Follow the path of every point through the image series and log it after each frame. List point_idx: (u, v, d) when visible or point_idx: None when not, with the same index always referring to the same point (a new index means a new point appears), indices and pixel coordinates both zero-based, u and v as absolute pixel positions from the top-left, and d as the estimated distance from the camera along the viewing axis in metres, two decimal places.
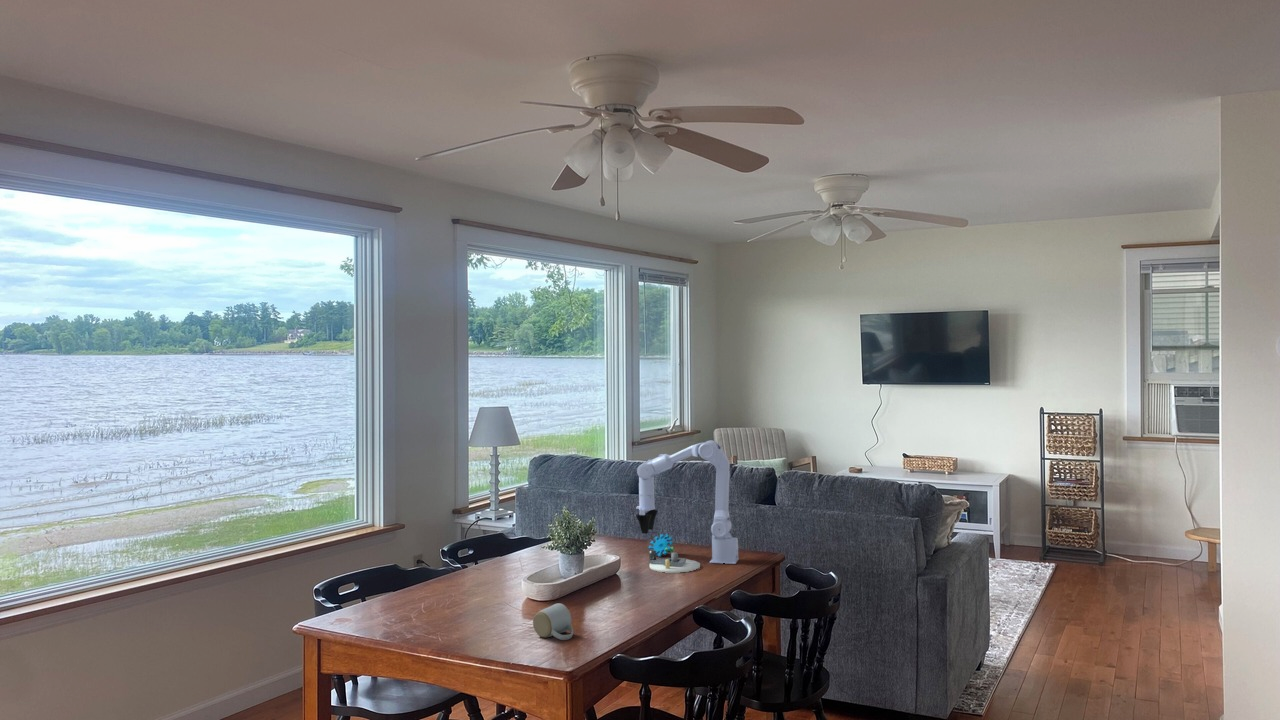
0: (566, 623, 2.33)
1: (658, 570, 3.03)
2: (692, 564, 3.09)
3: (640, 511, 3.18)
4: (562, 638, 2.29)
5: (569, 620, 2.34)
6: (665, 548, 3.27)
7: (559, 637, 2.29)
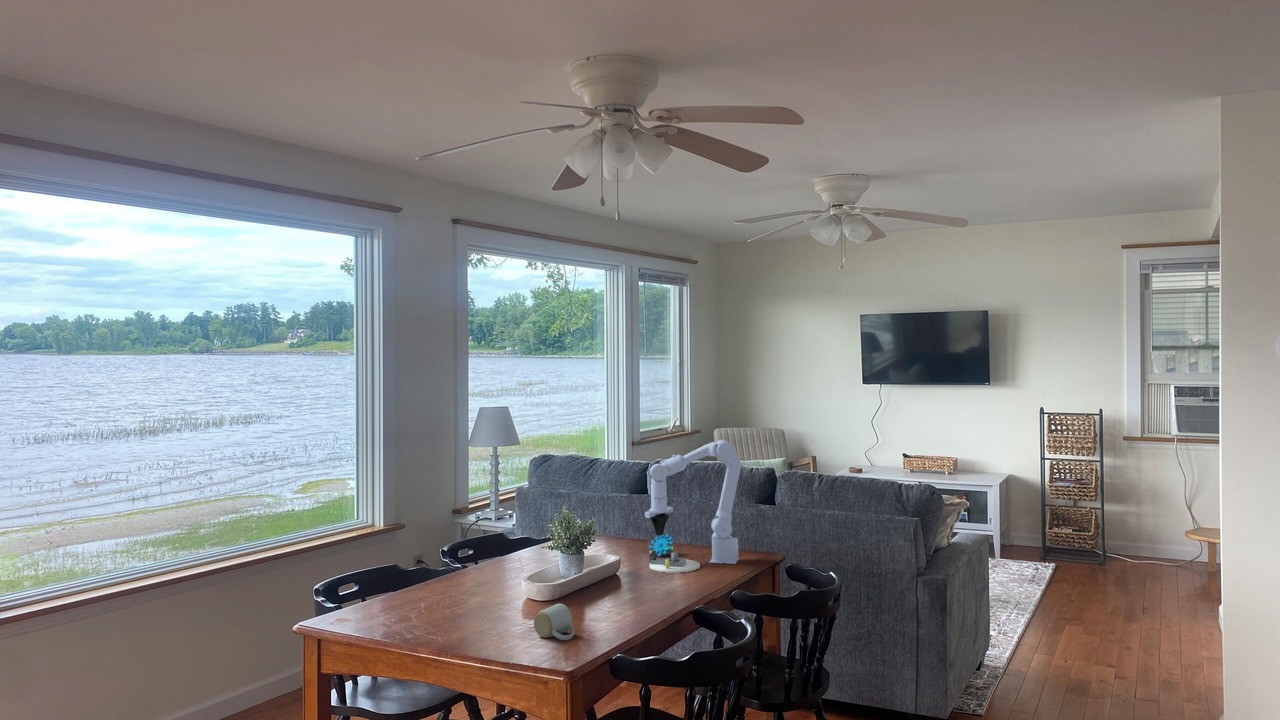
0: (567, 623, 2.33)
1: (658, 570, 3.03)
2: (692, 564, 3.09)
3: (645, 513, 3.11)
4: (563, 638, 2.29)
5: (570, 620, 2.34)
6: (665, 548, 3.27)
7: (560, 637, 2.28)
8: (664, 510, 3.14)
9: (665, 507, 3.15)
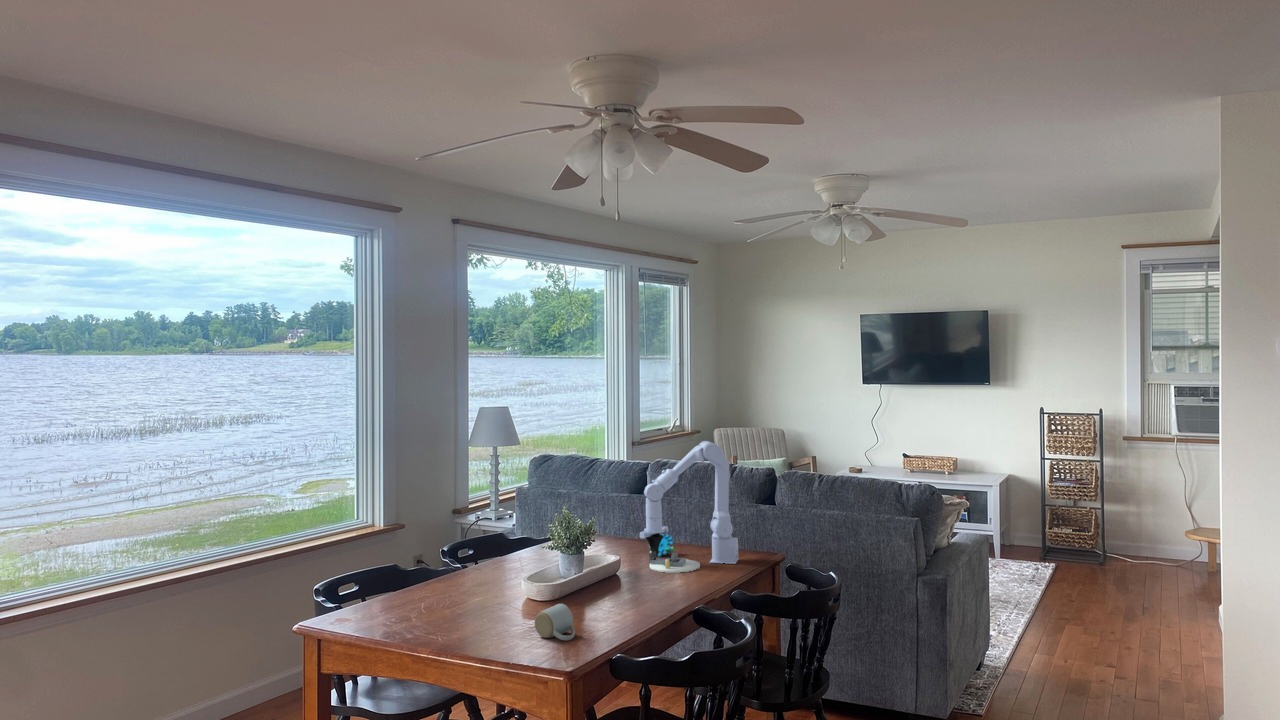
0: (568, 623, 2.33)
1: (658, 570, 3.03)
2: (692, 564, 3.09)
3: (640, 534, 3.08)
4: (564, 638, 2.28)
5: (571, 620, 2.33)
6: (665, 548, 3.27)
7: (561, 638, 2.28)
8: (659, 530, 3.11)
9: (660, 527, 3.12)
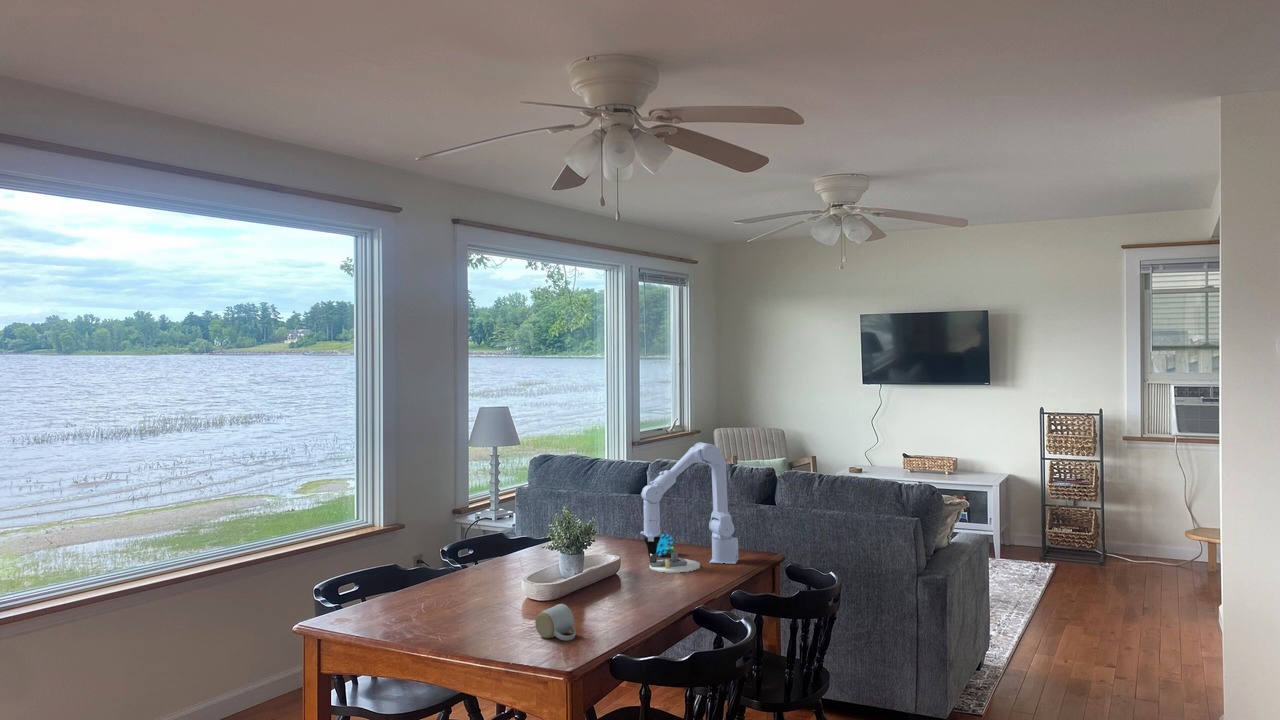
0: (568, 624, 2.32)
1: (658, 570, 3.03)
2: (692, 564, 3.09)
3: (649, 537, 3.02)
4: (564, 639, 2.28)
5: (571, 621, 2.33)
6: (665, 548, 3.27)
7: (561, 638, 2.28)
8: (659, 532, 3.09)
9: (659, 529, 3.09)
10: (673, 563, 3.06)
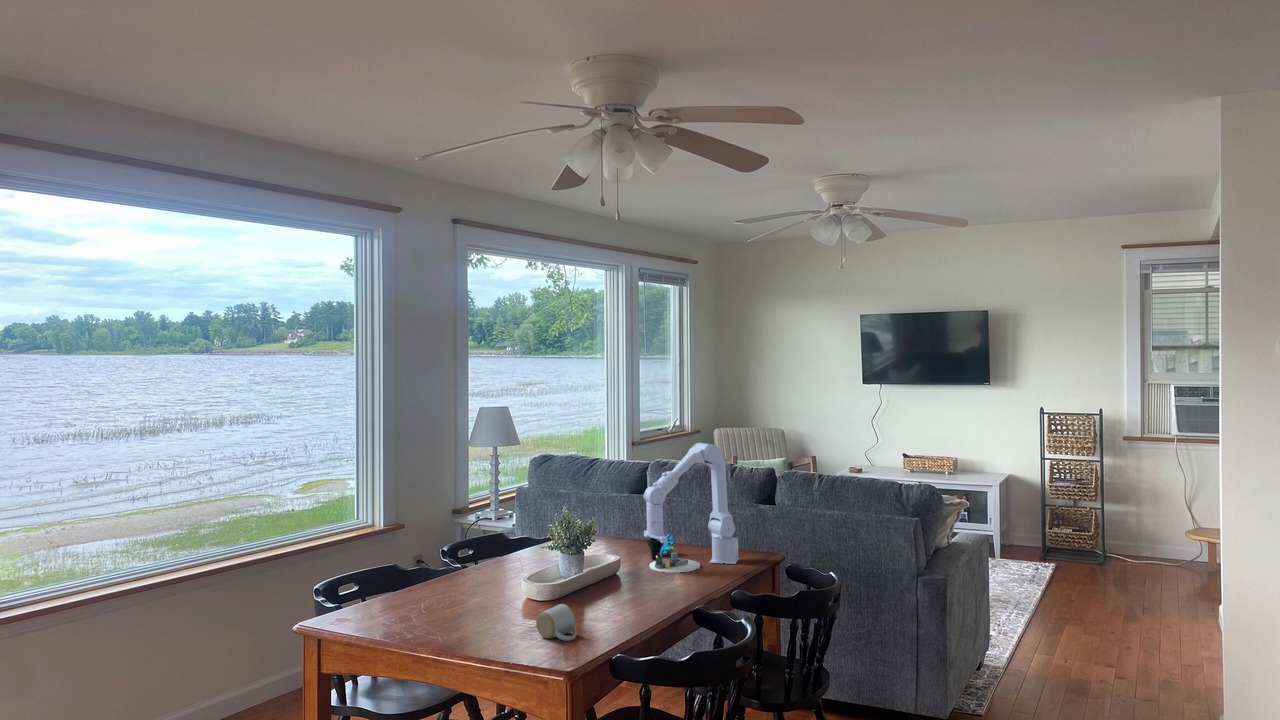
0: (569, 624, 2.32)
1: (658, 570, 3.03)
2: (692, 564, 3.09)
3: (662, 539, 2.99)
4: (565, 639, 2.28)
5: (572, 621, 2.33)
6: (666, 548, 3.28)
7: (562, 638, 2.28)
8: (663, 533, 3.07)
9: None
10: (678, 563, 3.06)
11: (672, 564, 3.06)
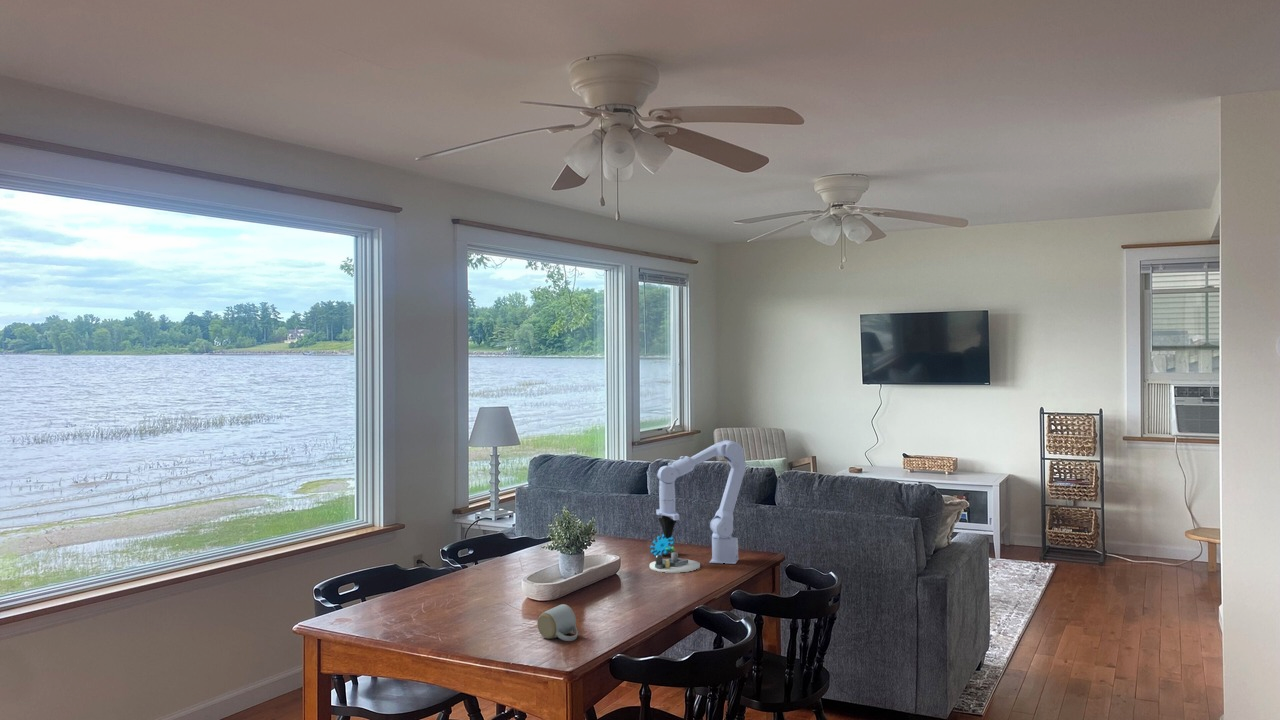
0: (571, 624, 2.32)
1: (658, 570, 3.03)
2: (692, 564, 3.09)
3: (675, 516, 3.07)
4: (567, 639, 2.28)
5: (574, 621, 2.33)
6: (666, 548, 3.28)
7: (563, 638, 2.28)
8: (675, 511, 3.14)
9: None
10: (678, 563, 3.06)
11: (672, 564, 3.06)
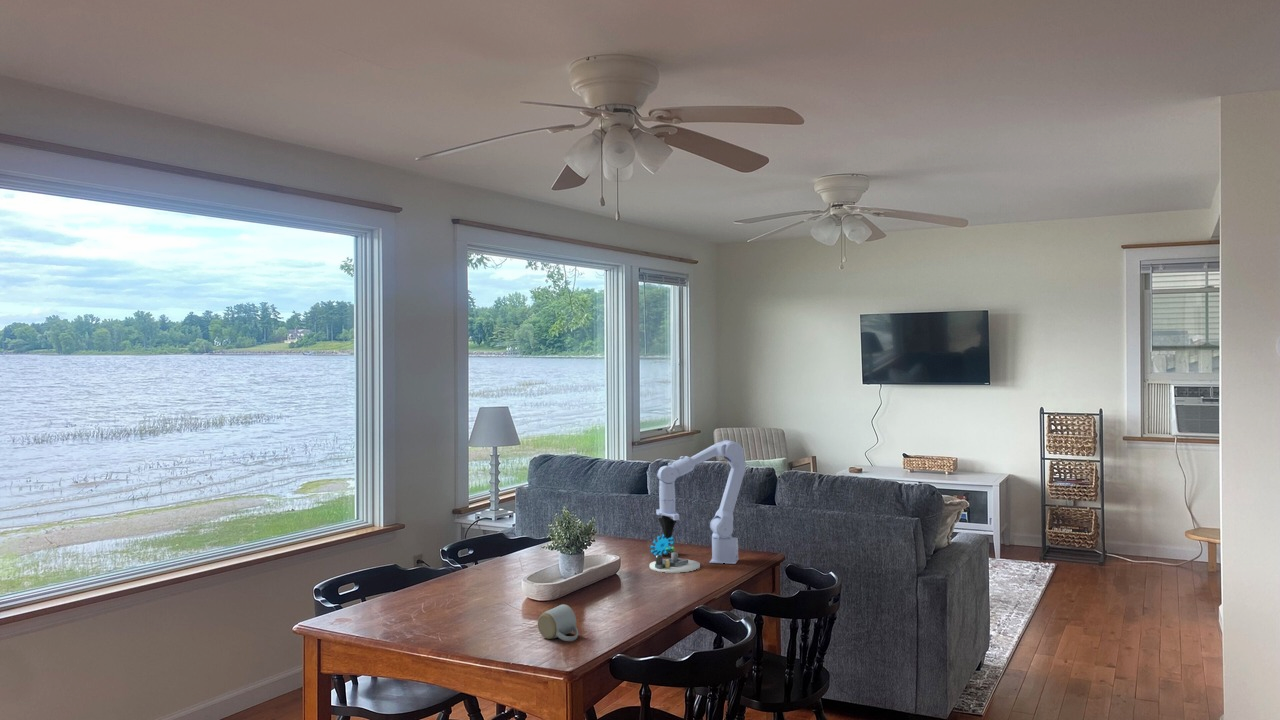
0: (571, 624, 2.32)
1: (658, 570, 3.03)
2: (692, 564, 3.09)
3: (675, 516, 3.07)
4: (567, 639, 2.28)
5: (574, 621, 2.33)
6: (666, 548, 3.28)
7: (564, 639, 2.27)
8: (675, 511, 3.14)
9: None
10: (678, 563, 3.06)
11: (672, 564, 3.06)
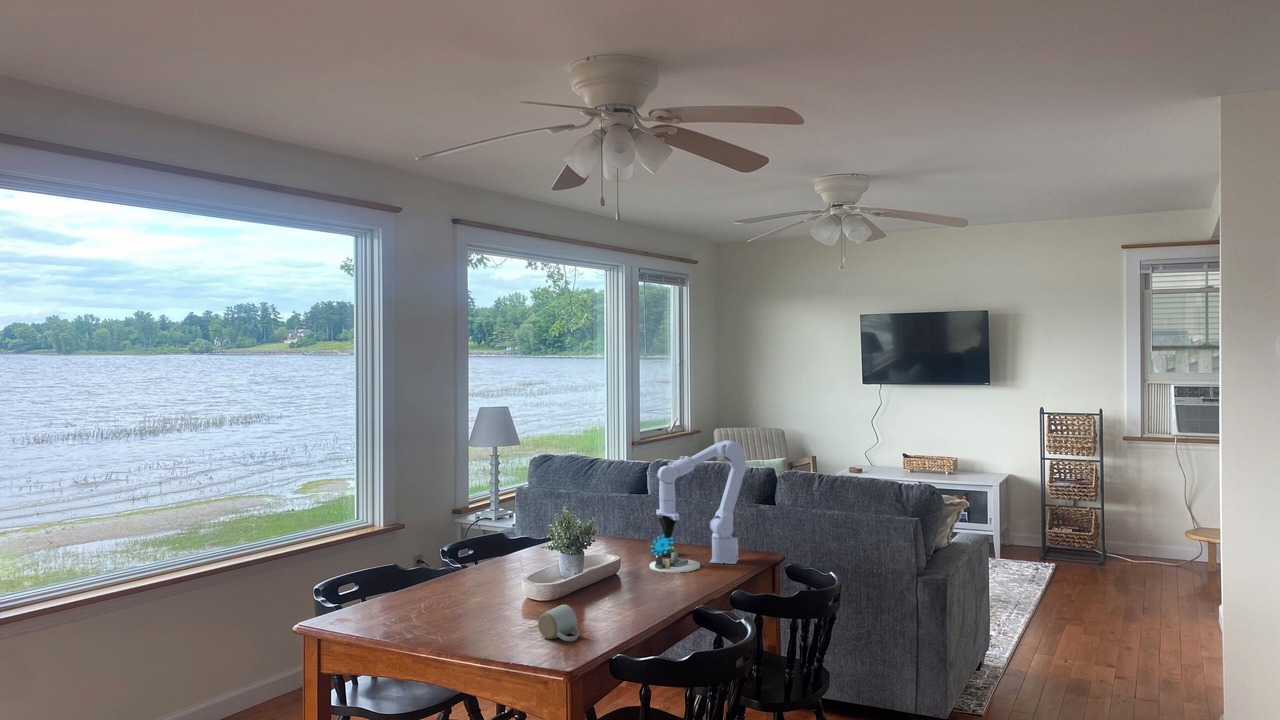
0: (571, 624, 2.32)
1: (658, 570, 3.03)
2: (692, 564, 3.09)
3: (675, 516, 3.07)
4: (567, 640, 2.27)
5: (574, 621, 2.32)
6: (666, 548, 3.28)
7: (564, 639, 2.27)
8: (675, 511, 3.14)
9: None
10: (678, 563, 3.06)
11: (672, 564, 3.06)
